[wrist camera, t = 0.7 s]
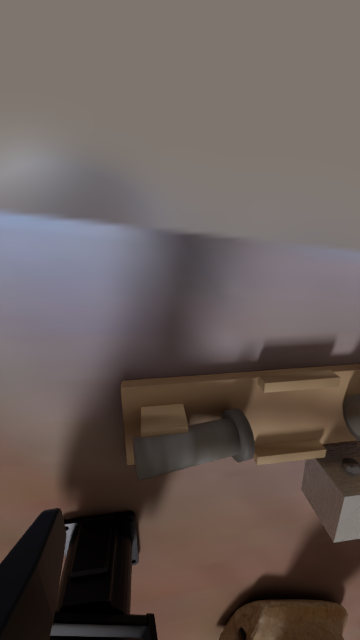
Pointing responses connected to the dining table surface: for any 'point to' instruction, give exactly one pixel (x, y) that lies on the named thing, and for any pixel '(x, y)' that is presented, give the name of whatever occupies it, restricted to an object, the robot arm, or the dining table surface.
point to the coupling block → (335, 490)
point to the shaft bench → (239, 417)
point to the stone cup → (287, 621)
